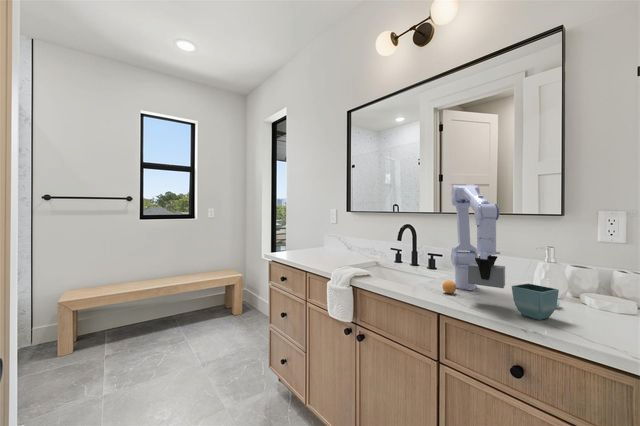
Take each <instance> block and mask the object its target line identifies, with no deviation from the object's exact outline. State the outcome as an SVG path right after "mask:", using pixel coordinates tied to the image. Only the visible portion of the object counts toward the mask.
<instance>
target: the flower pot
mask: <svg viewBox="0 0 640 426" xmlns="http://www.w3.org/2000/svg"><path fill="white" fill-rule="evenodd" d="M511 291H512V292H511V293H512V297H513V302H514V305H515V307H516V309H517V311H518V312H519V313H520V315H521V316H525V317H527V318H531V319H535V320H537V321H541V320H545V319H549V318H550V317H551V316H552V314H553V313H554V312H555V310H556V308H557V306H556V305H557V300H558V298H559V297H558V296H559V292H560V291H559V288H553V287H548V286H545V285H543V286H542V285H537V284H533V283H523V284H521V283H520V284H517V285H516V284H515V285H511Z"/></svg>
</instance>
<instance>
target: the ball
mask: <svg viewBox="0 0 640 426" xmlns="http://www.w3.org/2000/svg"><path fill="white" fill-rule="evenodd" d="M442 290H443V291H444V293H446V294H454V293H455V292H456V291H457V288H456V285H455V282H454V281H452V280H445V281H444V282H443V283H442Z"/></svg>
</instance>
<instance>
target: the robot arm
mask: <svg viewBox="0 0 640 426" xmlns="http://www.w3.org/2000/svg"><path fill="white" fill-rule="evenodd" d="M450 194H451V197H450V198H451V205H452V206H454V207H455V210H456V224H457V225H456V226H457V244H455V245H454V246H453V247H451V255H450V262H451V265H452V266H454V268H455V269H454V270H455V272H454V273H455V274H454V279H455V280H454V281H455V282H454V283H455V285H456V289H460V290H466V291H475V289H476V288H477V286H478V285H474V284H468V265H469V264H471V263H476V264H478V267H479V271H480V275H481V279H484V280H489V277H490V272H491V267H492V265H495V263H496V261H497V259H498V256H497V255H501V252H500V251H497V221H498V220H499V217H500V207H499V205H498V203H491V202H490V201H489V200H488V199H487V198H486V197H485V196H484V194H480V187H479V186H478V185H477V184H475V185H457V184H456V185H453V186H452V188H451V193H450ZM469 208H471V209H472V210H473V213H474V214H473V215H474V220H475V225H476V247H475V246H474V245H472V244H471V229H470V211H469Z"/></svg>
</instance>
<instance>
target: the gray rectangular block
mask: <svg viewBox="0 0 640 426" xmlns="http://www.w3.org/2000/svg"><path fill="white" fill-rule="evenodd" d="M468 284H474V285H477V286H483V287H491V288H498V289H504V288H505V286H506V266H505V265H495V264H494V265H492V267H491V272H490V277H489V280H484V279H481V275H480V271H479V267H478V264H476V263H471V264H469V265H468Z"/></svg>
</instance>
